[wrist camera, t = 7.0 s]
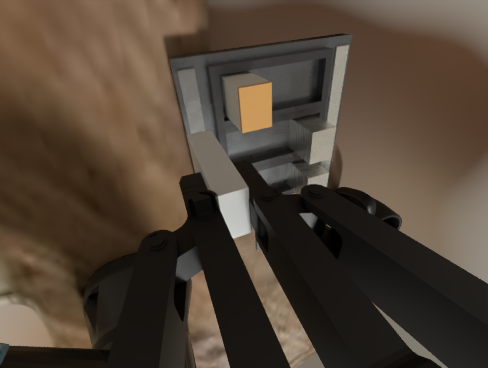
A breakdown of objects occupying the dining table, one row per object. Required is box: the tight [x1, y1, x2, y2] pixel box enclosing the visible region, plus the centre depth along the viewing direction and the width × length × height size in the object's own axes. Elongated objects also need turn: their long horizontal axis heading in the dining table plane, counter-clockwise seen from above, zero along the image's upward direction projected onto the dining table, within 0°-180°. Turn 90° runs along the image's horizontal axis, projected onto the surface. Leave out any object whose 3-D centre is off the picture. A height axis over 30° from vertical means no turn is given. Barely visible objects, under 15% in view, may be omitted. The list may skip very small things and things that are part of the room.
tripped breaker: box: [221, 71, 272, 133], centre depth 24 cm, size 3×4×5 cm
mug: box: [335, 187, 402, 230], centre depth 40 cm, size 8×12×10 cm
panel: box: [168, 33, 352, 195], centre depth 29 cm, size 20×20×6 cm
